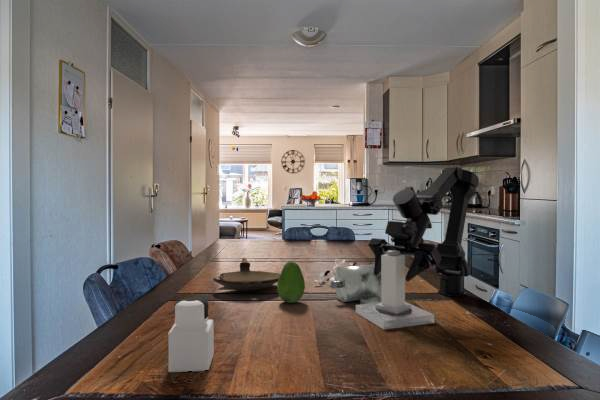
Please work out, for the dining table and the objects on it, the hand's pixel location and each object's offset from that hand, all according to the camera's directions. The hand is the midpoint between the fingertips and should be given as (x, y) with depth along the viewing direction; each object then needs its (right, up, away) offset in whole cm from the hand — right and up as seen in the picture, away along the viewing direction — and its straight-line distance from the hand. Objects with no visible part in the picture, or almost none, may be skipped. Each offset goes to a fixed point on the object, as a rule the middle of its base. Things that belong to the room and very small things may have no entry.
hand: (390, 277), depth 100 cm
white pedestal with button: (+1, -8, +1) cm, 8 cm away
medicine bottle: (-43, -11, -26) cm, 51 cm away
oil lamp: (-39, -10, +34) cm, 53 cm away
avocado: (-25, -10, +15) cm, 31 cm away
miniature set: (-6, -10, +49) cm, 51 cm away
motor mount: (-3, -10, +8) cm, 13 cm away
